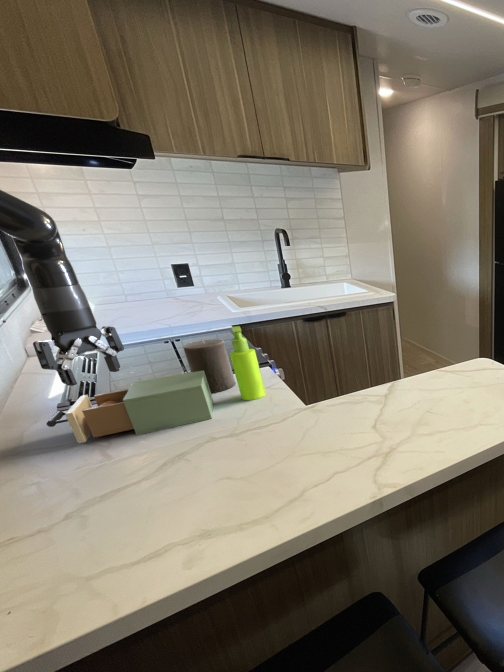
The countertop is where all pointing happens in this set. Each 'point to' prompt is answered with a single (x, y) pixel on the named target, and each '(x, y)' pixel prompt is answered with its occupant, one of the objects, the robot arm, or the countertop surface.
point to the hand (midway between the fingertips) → (94, 377)
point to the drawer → (96, 416)
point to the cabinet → (168, 402)
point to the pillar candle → (211, 363)
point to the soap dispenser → (246, 368)
